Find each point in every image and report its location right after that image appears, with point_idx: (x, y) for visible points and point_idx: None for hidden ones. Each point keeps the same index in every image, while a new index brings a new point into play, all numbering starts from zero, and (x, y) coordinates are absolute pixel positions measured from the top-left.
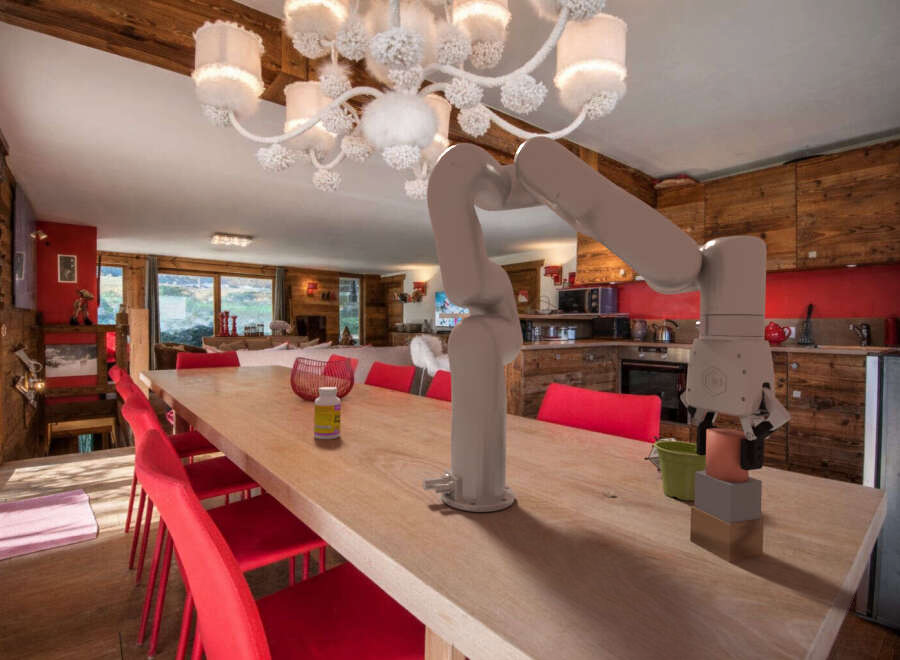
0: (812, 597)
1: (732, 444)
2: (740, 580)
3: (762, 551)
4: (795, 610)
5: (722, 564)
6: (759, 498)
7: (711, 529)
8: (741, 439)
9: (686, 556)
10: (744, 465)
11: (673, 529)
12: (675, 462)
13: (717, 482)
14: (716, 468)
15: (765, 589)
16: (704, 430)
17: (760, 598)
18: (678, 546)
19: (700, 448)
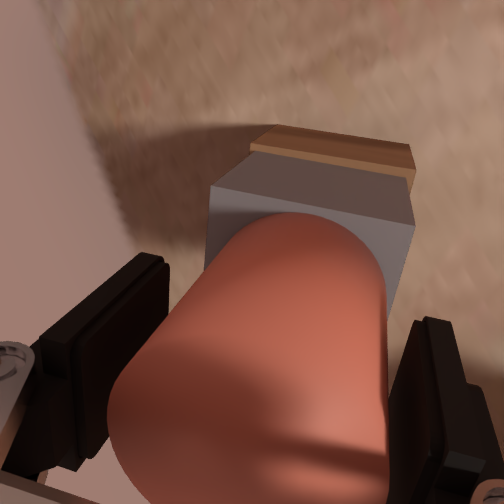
0: (116, 143)
1: (159, 326)
2: (211, 59)
3: None
4: (94, 51)
5: (279, 96)
6: None
7: (327, 146)
8: (67, 338)
9: (356, 36)
10: (134, 258)
11: (489, 171)
12: None
13: (280, 196)
14: (282, 231)
15: (165, 77)
16: (421, 456)
17: (145, 22)
18: (408, 73)
19: (426, 340)
